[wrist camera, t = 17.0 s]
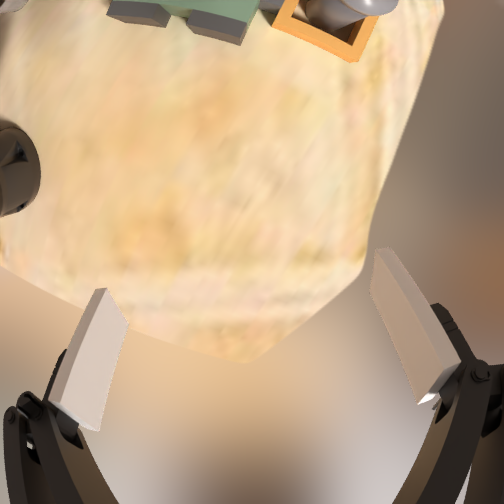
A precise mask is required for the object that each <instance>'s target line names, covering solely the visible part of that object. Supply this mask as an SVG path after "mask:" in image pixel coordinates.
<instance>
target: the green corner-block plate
mask: <svg viewBox="0 0 504 504" xmlns="http://www.w3.org/2000/svg"><path fill="white" fill-rule="evenodd" d="M298 2H299V0H112V2H111V4H110V7H109V9H108V11H107V14H106V15H107V16H110V17H112V18H115V19H117V20H120V21H122V22H124V23H133V24H142V25H150V26H157V27H163V28H166V26H167V23H168V21H169V19H170V17H171V15H174V16H180V17H185V18H188V21H187V23H186V25H187V26H188V27H189V28H190V29H191V30H192V31H193V32H194V33H195V34H199V35H203V36H207V37H211V38H215V39H219V40H222V41H226V42H229V43H233V44H236V45H239V46H240V45H241V43H242V41H243V39H244V37H245V34H246V32H247V30H248V28H249V26H250V24H251V22H252V20H253V18H254V16H255V14H256V12H257V10H258V9H261V10H264V11H267V12H270V13H273V14H276V15H277V16H276V18H275V20H274V22H273V24H272V26H271V27H273V28H276V29H278V30H281V31H283V32H286V33H288V34H291V35H293V36H296V37H298V38H300V39H303V40H305V41H307V42H310V43H312V44H314V45H316V46H318V47H320V48H322V49H324V50H326V51H328V52H330V53H332V54H334V55H336V56H338V57H340V58H342V59H344V60H346V61H347V62H349V63H351V62H358V61H359V59H360V57H361V55H362V53H363V51H364V48H365V46H366V44H367V42H368V40H369V37H370V35H371V33H372V31H373V29H374V26H375V24H376V22H377V20H378V17H379V16H368V17H365V18H363V19H360V20H358V21H356V23H355V26H354V28H353V30H352V32H351V34H350V36H349V38H348V41H347V43H345V42H343V41H341V40H340V39H338V38H336V37H334V36H332V35H330V34H328V33H326V32H324V31H322V30H320V29H317V28H315V27H313V26H311V25H309V24H306V23H304V22H302V21H299V20H297V19H295V18H292V17H291V16H292V14H293V12H294V10H295V8H296V6H297V4H298Z"/></svg>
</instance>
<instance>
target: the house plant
mask: <svg viewBox="0 0 504 504" xmlns="http://www.w3.org/2000/svg"><path fill="white" fill-rule="evenodd" d="M27 1H28V0H0V14H1V13H8V12H15V11H18V10H20V9H21V8H22V7H23V6H24V5H25V4H26V3H27Z"/></svg>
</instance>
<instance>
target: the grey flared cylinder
mask: <svg viewBox="0 0 504 504" xmlns="http://www.w3.org/2000/svg"><path fill="white" fill-rule="evenodd" d="M397 4H398V0H309V1H308V2H307V4H306V7H305V13H306V16H307V18H308V19H309V21H310V22H311V23H312V24H313V25H315V26H316V27H318V28H320V29H322V30H326V31H335V30H338V29H340V28H342V27H345V26H347V25H349V24H351V23H353V22H356V21H358V20H360V19H363V18H365V17H368V16H381V15H384V14H387V13H389V12H391V11H393V10H394V9H395V8H396V6H397Z"/></svg>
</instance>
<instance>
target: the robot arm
mask: <svg viewBox="0 0 504 504" xmlns="http://www.w3.org/2000/svg"><path fill="white" fill-rule="evenodd" d="M40 178H41V171H40V163H39V158H38V154H37V152H36V149H35V147H34V145H33V143H32V141H31V140H30V138H29V137H28V136H27V135H26V134H25V133H24V132H23V131H21V130H19V129H17V128H7V129H4V130H2V131H0V218H1V217H4V216H7V215H10V214H13V213H17V212H19V211H21V210H23V209H24V208H26V207H27V206H28V205H29V204H30V203H31V202H32V201H33V200H34V199H35V197H36V195H37V193H38V190H39V186H40ZM369 293H370V295H371V297H372V299H373V301H374V303H375V305H376V307H377V309H378V311H379V314H380V316H381V318H382V320H383V322H384V324H385V327H386V329H387V331H388V333H389V335H390V337H391V340H392V342H393V345H394V347H395V349H396V352H397V354H398V356H399V358H400V361H401V363H402V366H403V368H404V371H405V373H406V376H407V378H408V381H409V383H410V386H411V389H412V391H413V394H414V397H415V399H416V402H417V405H418V404H421V403H423V402H426V401H428V400H430V399H433V398H434V397H435V396H436V394H437V393H438V392H439V394H440V396H441V398H440V399H439V400H438V402H437V403H436V404H435V405H434V407H433V408H432V409H433V410H435V408H436V407H437V409H436V412H435V414H434V417H433V420H432V423H431V425H430V428H429V431H428V433H427V435H426V438H425V440H424V443H423V445H422V448H421V450H420V452H419V454H418V456H417V459H416V461H415V463H414V465H413V467H412V469H411V471H410V473H409V475H408V477H407V478H406V480H405V482H404V484H403V486H402V488H401V490H400V491H399V493H398V495H397V496H396V498H395V500H394V502H393V503H392V504H455V502H456V500H457V498H458V496H459V493H460V491H461V489H462V486H463V484H464V482H465V479H466V477H467V474H468V472H469V469H470V466H471V472H470V477H469V482H468V487H467V491H466V496H465V500H464V504H504V364H500V365H488V364H487V363H486V362H484V361H483V360H478V359H476V357H475V356H474V354H473V353H472V351H471V349H470V347H469V345H468V343H467V342H466V340H465V338H464V336H463V335H462V333H461V331H460V330H459V329H458V326H457V325H456V323H455V322H454V321H453V318H452V317H451V315H450V313H449V312H448V310H447V309H445V308H444V307H443V306H442V305H441V304H439V303H436V304H433V305H429V304H428V302H427V300H426V299H425V297H424V296H423V294H422V293H421V291H420V289H419V288H418V286H417V285H416V283H415V282H414V280H413V279H412V277H411V276H410V274H409V273H408V272H407V270H406V269H405V267H404V266H403V264H402V263H401V261H400V260H399V259H398V257H397V256H396V254H395V253H394V252H393V250H392V249H391V248H390V247H384V248H378V249H376V250H375V258H374V266H373V273H372V279H371V286H370V292H369ZM128 326H129V323H128V322H127V320H126V319H125V317H124V315H123V314H122V312H121V311H120V309H119V307H118V306H117V304H116V302H115V301H114V299H113V297H112V296H111V294H110V292H109V290H108V289H107V288H101V289H96V290H95V292H94V293H93V295H92V297H91V299H90V301H89V303H88V305H87V307H86V309H85V311H84V313H83V316H82V318H81V320H80V322H79V324H78V326H77V328H76V330H75V333H74V335H73V337H72V339H71V342H70V344H69V346H68V349H65V350H64V351H63V352H62V354H61V355H60V356H59V358H58V361H57V363H56V365H55V366H56V368H54V370H53V375H52V376H51V378H50V381H49V384H48V386H47V389H46V392H45V395H44V398H43V400H42V401H41V400H40V399H39V398H37V397H36V396H35V395H34V394H33V393H31V392H30V391H26V392H24V393H22V394H21V395H20V397H19V398H18V400H17V404H16V407H14V406H11V407H9V408H8V409H7V410H6V412H5V414H4V419H3V420H4V422H3V437H4V438H3V440H4V459H5V471H6V479H7V487H8V493H9V498H10V504H119V503H118V501H117V500H116V498H115V497H114V495H113V493H112V492H111V490H110V488H109V486H108V485H107V483H106V481H105V479H104V478H103V476H102V474H101V472H100V470H99V469H98V466H97V464H96V462H95V461H94V458H93V456H92V454H91V452H90V450H89V448H88V445H87V443H86V441H85V439H84V436H83V434H82V432H81V430H80V429H79V428H78V426H79V424H80V425H82V426H83V427H85V428H86V429H90V430H94V431H99V430H100V425H101V421H102V417H103V412H104V408H105V404H106V400H107V396H108V392H109V389H110V385H111V381H112V377H113V374H114V370H115V367H116V364H117V360H118V357H119V354H120V351H121V347H122V344H123V341H124V338H125V334H126V332H127V329H128ZM27 442H29V443H30V444H32V445H33V447H32V449H30V448H28V447H27ZM471 464H472V465H471Z"/></svg>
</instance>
